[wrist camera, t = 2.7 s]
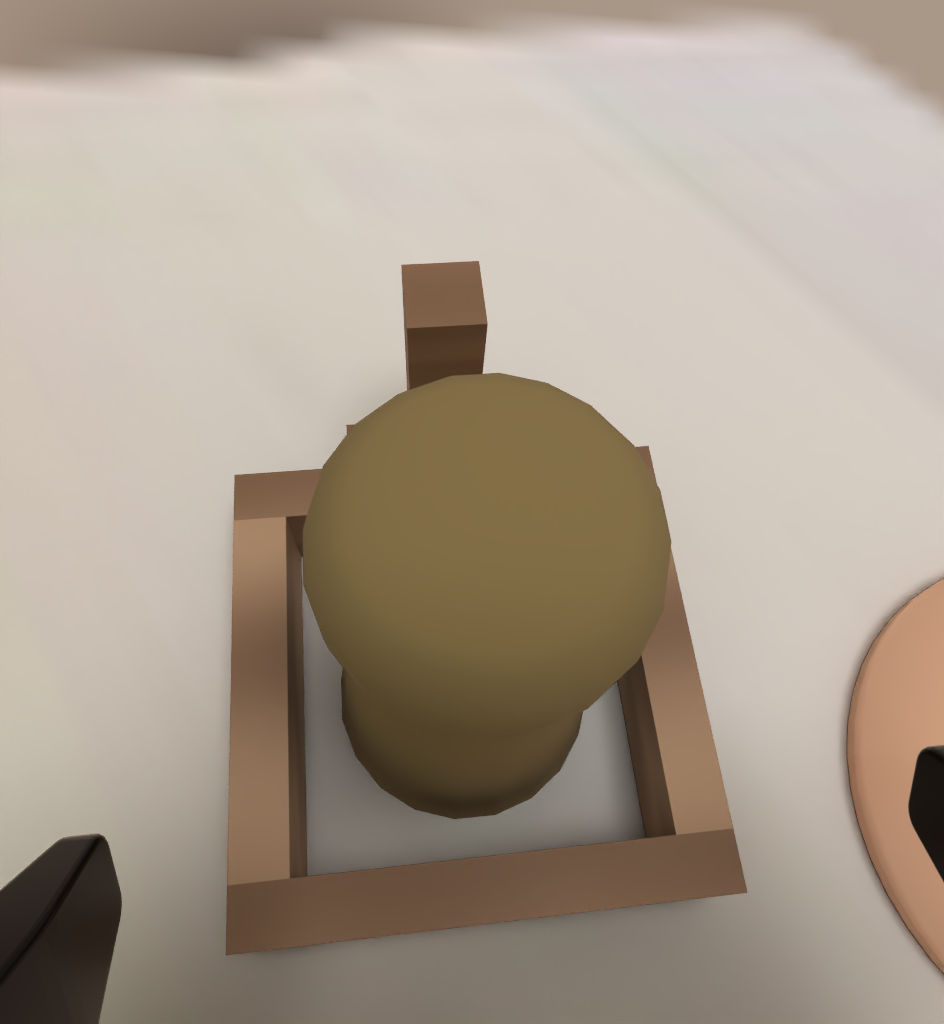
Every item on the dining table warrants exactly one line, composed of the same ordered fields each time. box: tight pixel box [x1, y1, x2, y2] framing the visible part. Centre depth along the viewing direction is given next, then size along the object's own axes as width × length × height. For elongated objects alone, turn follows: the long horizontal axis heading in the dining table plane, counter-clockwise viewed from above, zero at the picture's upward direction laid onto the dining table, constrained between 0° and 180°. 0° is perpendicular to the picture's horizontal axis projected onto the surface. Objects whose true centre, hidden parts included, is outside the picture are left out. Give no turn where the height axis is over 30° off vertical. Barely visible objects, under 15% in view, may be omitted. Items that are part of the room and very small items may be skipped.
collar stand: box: [226, 261, 747, 955], centre depth 17 cm, size 12×10×7 cm
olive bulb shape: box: [303, 373, 671, 819], centre depth 15 cm, size 6×6×11 cm
